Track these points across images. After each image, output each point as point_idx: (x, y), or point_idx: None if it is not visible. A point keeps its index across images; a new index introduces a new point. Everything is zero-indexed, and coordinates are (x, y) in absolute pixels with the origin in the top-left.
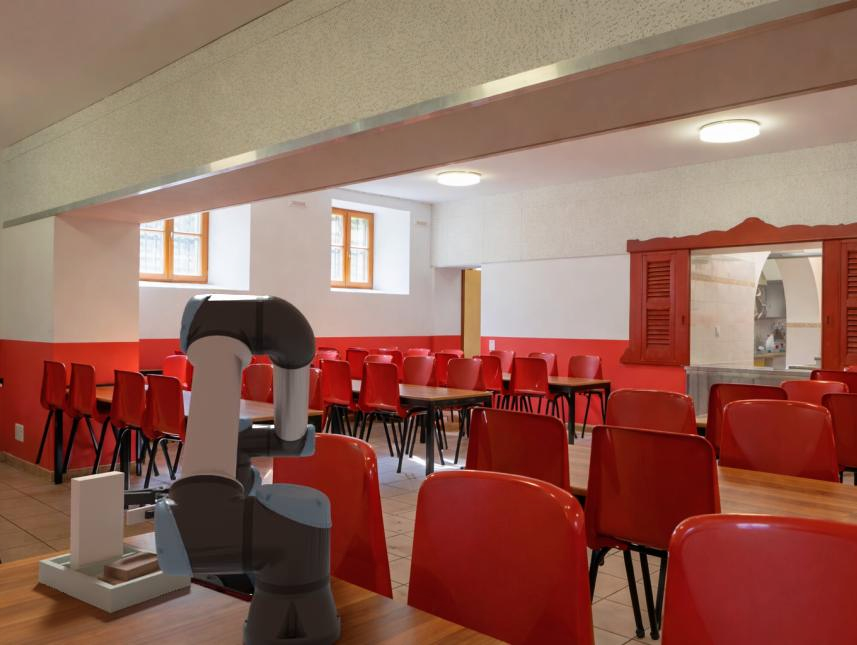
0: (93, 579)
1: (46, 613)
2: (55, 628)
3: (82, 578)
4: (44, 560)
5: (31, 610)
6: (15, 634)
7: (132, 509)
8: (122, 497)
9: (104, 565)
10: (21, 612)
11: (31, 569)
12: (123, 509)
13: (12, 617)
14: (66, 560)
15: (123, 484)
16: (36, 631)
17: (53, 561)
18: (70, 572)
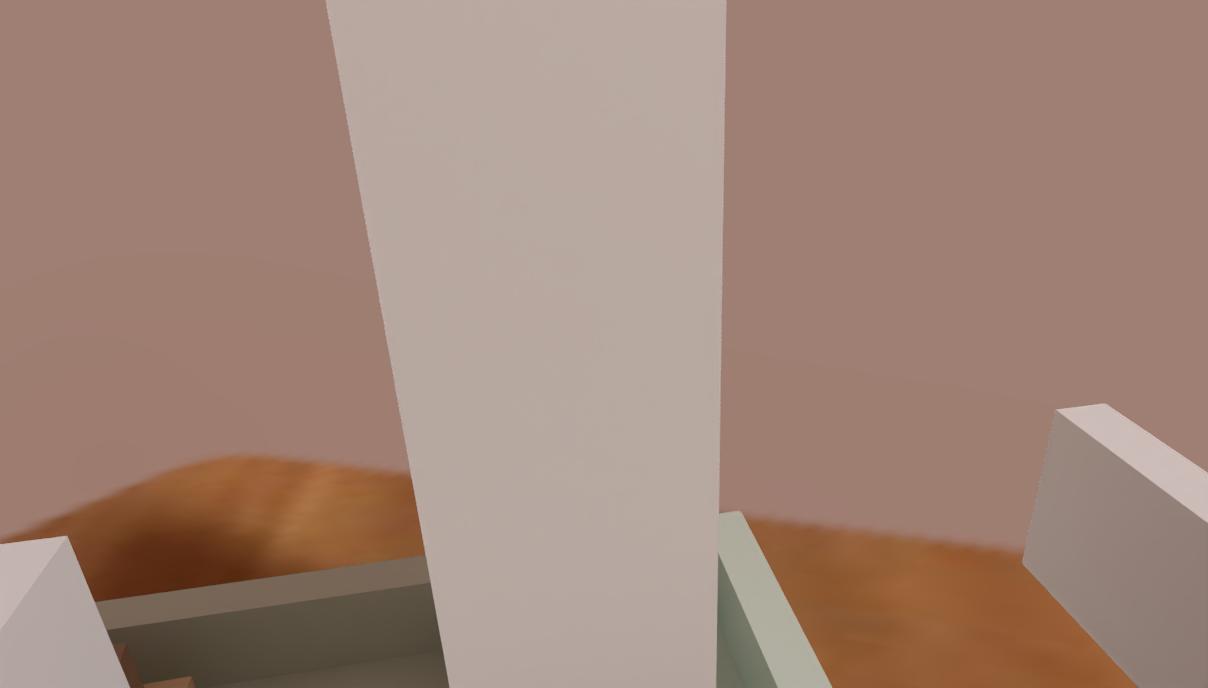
0: (125, 617)
1: (279, 552)
2: (100, 543)
3: (218, 587)
4: (728, 527)
5: (371, 526)
6: (211, 464)
7: (10, 603)
8: (418, 467)
9: (119, 647)
10: (387, 502)
11: (1024, 633)
12: (450, 667)
13: (368, 479)
14: (748, 653)
15: (366, 222)
16: (156, 502)
17: (722, 573)
18: (378, 567)
